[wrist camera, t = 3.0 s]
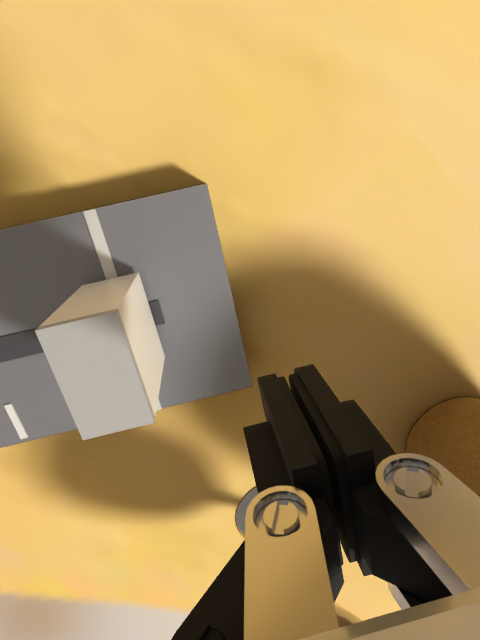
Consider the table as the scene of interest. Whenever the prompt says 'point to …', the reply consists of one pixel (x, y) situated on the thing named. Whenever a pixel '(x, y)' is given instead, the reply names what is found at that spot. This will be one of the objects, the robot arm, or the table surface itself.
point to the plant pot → (451, 438)
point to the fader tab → (106, 356)
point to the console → (106, 263)
